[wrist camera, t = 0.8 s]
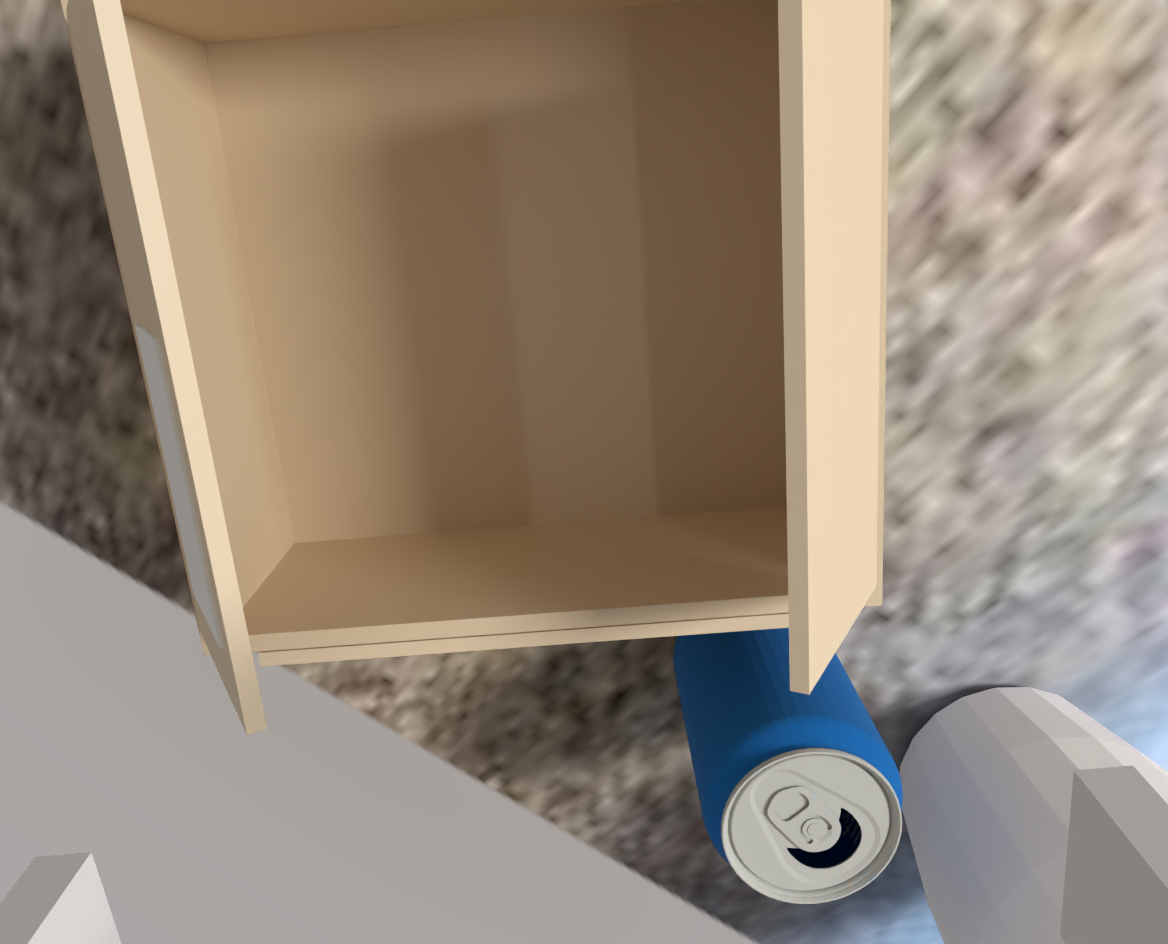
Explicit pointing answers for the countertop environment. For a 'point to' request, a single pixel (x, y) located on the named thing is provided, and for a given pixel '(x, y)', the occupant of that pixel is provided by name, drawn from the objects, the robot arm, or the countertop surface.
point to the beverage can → (786, 768)
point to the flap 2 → (830, 316)
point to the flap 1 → (164, 341)
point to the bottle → (1002, 809)
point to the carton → (483, 312)
